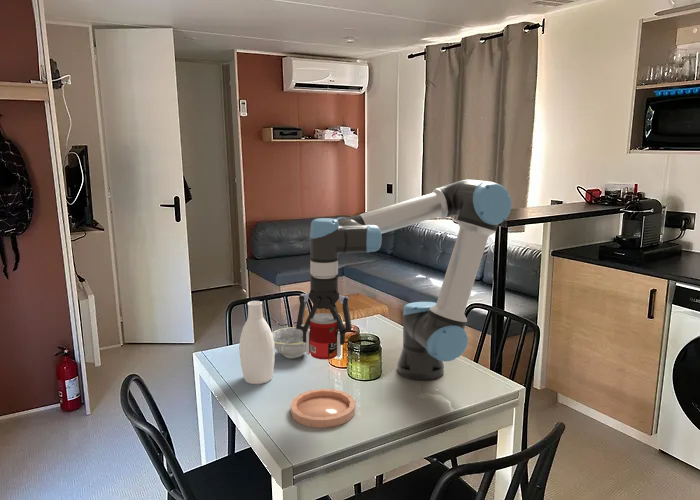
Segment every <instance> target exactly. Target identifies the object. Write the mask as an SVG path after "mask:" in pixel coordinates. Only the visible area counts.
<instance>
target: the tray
mask: <svg viewBox="0 0 700 500" xmlns="http://www.w3.org/2000/svg"><path fill="white" fill-rule="evenodd" d="M356 405H357V404H356V400H355V398H354V397H353V396H352V395H351V394H349V393H347V392H346V391H343V390H338V389H335V388H317V389H311V390H308V391H305V392H302V393H300V394H298V395H297V396H295V397H294V398H293V399H292V401H291V404H290V414H291V417H292V419H293V420H294V421H295V422H297V423H298V424H300V425H303V426H306V427H309V428H310V427H311V428H319V429H320V428H321V429H322V428H325V429H326V428H330V427H337V426H340V425H342V424H345V423H347V422H349V421H350V420H351V419H352V418H353V417H354V416H355V414H356V409H357V407H356Z"/></svg>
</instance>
